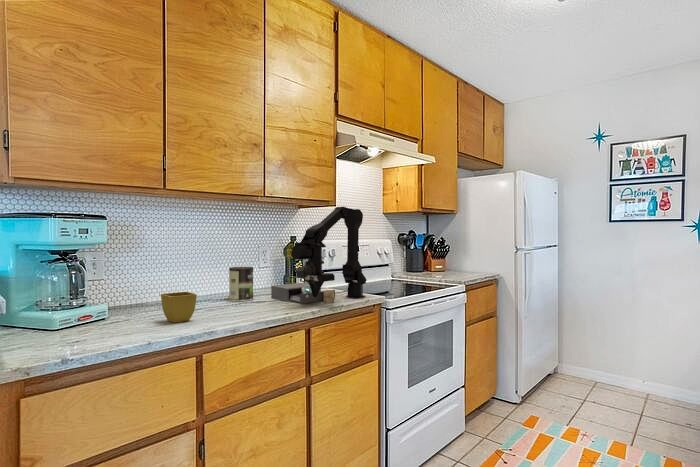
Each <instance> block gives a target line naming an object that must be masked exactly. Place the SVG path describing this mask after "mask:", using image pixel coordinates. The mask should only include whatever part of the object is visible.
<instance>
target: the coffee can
mask: <svg viewBox="0 0 700 467" xmlns="http://www.w3.org/2000/svg"><path fill="white" fill-rule="evenodd" d="M228 270H229V272H228V273H229V274H228V275H229V278H228V280H229V288H228V289H229V291H228V292H229V299H228V301H230V302H236V303H237V302H238V303H239V302H250V301H253V300H254V267H253V266H232V267H228Z"/></svg>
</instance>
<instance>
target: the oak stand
mask: <svg viewBox="0 0 700 467" xmlns="http://www.w3.org/2000/svg"><path fill="white" fill-rule="evenodd" d="M333 290H334V289H327V290H326V289H324V290H323V291H324V300H323V303H324V304H334V303H335V299H334V291H333Z"/></svg>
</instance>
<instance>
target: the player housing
mask: <svg viewBox="0 0 700 467" xmlns="http://www.w3.org/2000/svg"><path fill="white" fill-rule="evenodd" d="M303 285H309V284H308V283H307V282H306V281H304V282H294V283H285V284H278V285H277V284H275V285H271V286H270V291H271V297H270V298H271V299H274V300H279V301H282V302H283V301H284V302H287V303H292V302H295V301H294V300H289V297H290V295H298V294H302V293H301V289H302V286H303ZM320 291H322V287H321V288H320V290H319V292H320Z"/></svg>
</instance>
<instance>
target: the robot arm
mask: <svg viewBox="0 0 700 467" xmlns="http://www.w3.org/2000/svg"><path fill="white" fill-rule="evenodd" d="M341 219H343V221H344V224H345V227H346V229H347V245H346V246H347V253H346V255H347V257H346V258H347V259H346V260H347V261H346V262H345V263H344V264H342V272H341V274H342V275H343V276H342V277H343V278H344V282H345V284H347V295H345V297H347V298H352V299H358V298H365V297H366V295H365V294H364V293H363V292H364V290H363V289H364V288H363V287H364V286H363V285H365V284H367V280H368V279H367V278H366V276H365V275H364V274H363V269H362V265H361V263H360V261H359V233H360V232H359V230H360V227H361V225H362V224H363V219H364V214H363V212H362V210H361V209H360V208H356V209H355V208H349V207H347V206H337V207H335V208H334V209H333V210H332V211H331V212H330V213H329V214H328V215H327V216H325V217H324V218H323V219H322V220H321V221H320V222H318V223H317V224H314V225H312V226H310V227H308V228H307V229H306V230H305V234H304V235H303V237H302V239H301V241H300V242H294V246H292V247H291V248H292V249H291V250H290V254H291V258H292V259H293V260H295V261H297V260H298V261H299V260H300V261H301V260H307V261H305V262H304V265H303V266H300V267H298V268H296V269H295V270H294V271H295V274H296V275H295V276H296V277H295V278H297V279H304V282H305V283H308V284H309V285H310V288H311V291H312V294H313V297H317V295H318V293H319V290H320V288H321V289H322V286H323V284H324V282H333V281H335V279H336V278H335V274H334V273H332V272H325V271H324V270H323V265H324V264H325V261H324V260H323V248H326V247H327V246H326V244H325V243H324V242H323V241H324V240H325V239H326V237H327V235H328V232H329V231H330V229H331V228H333V227H334V226H335V225H337V223H338V222H339V221H340V220H341Z"/></svg>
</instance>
